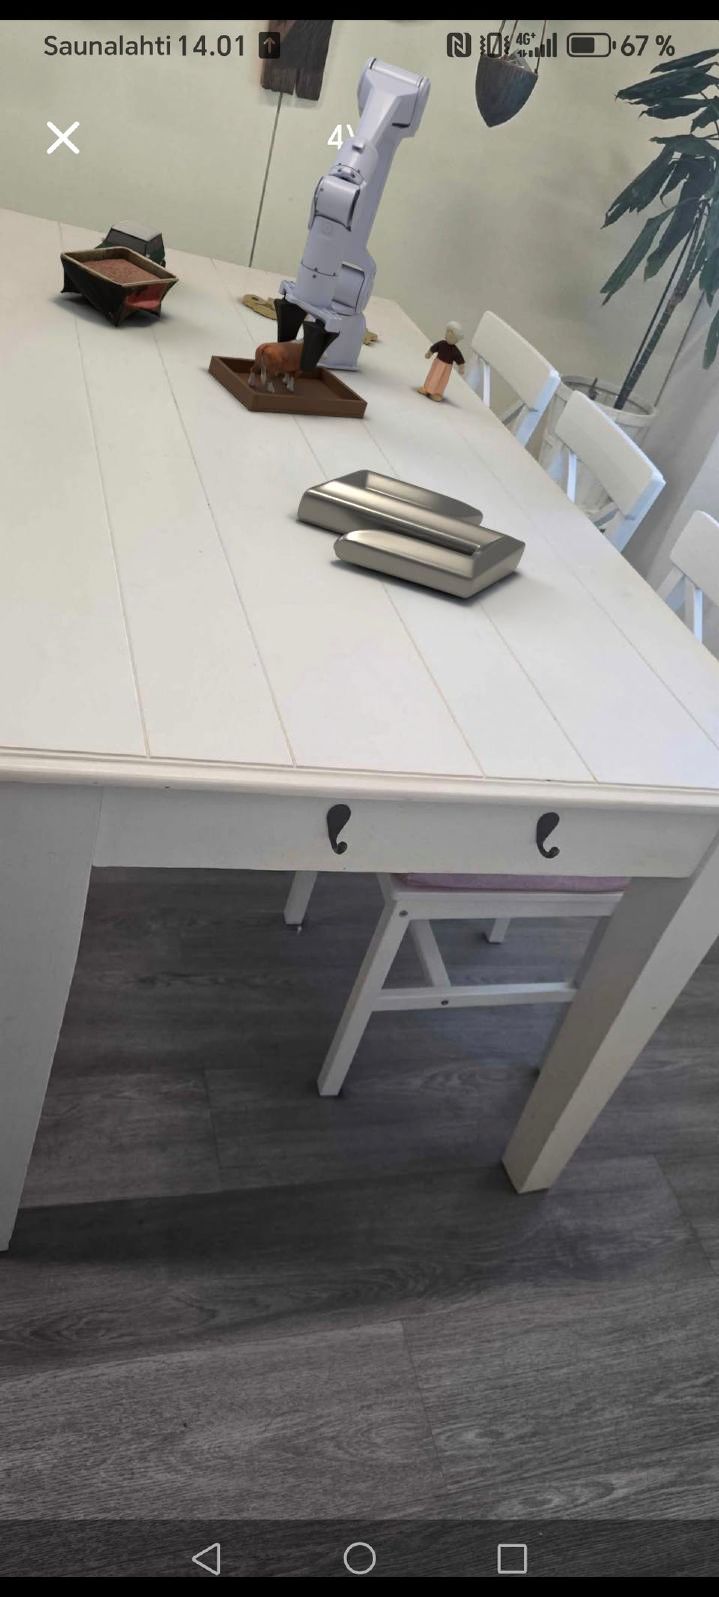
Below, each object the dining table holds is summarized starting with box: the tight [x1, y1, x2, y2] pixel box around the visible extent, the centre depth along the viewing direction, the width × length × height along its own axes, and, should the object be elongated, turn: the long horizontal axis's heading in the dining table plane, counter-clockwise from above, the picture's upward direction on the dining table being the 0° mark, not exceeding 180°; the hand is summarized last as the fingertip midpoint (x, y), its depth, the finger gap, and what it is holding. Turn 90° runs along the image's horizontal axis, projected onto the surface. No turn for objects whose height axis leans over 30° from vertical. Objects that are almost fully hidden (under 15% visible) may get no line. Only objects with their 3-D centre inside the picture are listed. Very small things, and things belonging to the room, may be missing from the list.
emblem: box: [296, 469, 526, 599], centre depth 153 cm, size 28×5×28 cm
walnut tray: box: [207, 355, 369, 419], centre depth 185 cm, size 20×13×2 cm, turn 124°
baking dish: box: [59, 246, 180, 327], centre depth 190 cm, size 14×18×10 cm
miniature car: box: [93, 219, 167, 269], centre depth 206 cm, size 9×18×8 cm, turn 170°
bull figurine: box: [248, 337, 328, 394], centre depth 183 cm, size 4×13×8 cm, turn 134°
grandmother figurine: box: [416, 320, 466, 402], centre depth 203 cm, size 8×4×13 cm, turn 68°
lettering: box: [242, 293, 378, 345], centre depth 219 cm, size 25×10×1 cm, turn 100°
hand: (294, 360), depth 182 cm, fingers open, 6 cm apart
